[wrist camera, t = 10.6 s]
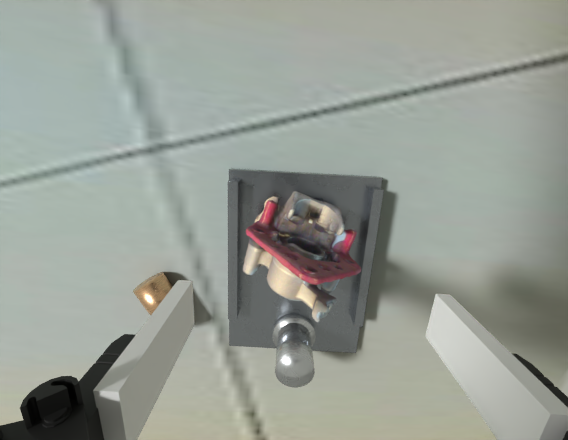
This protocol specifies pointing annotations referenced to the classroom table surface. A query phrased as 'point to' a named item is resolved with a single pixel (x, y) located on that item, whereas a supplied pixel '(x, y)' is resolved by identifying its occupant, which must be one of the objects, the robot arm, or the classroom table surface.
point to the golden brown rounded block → (153, 291)
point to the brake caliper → (302, 250)
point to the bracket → (349, 291)
